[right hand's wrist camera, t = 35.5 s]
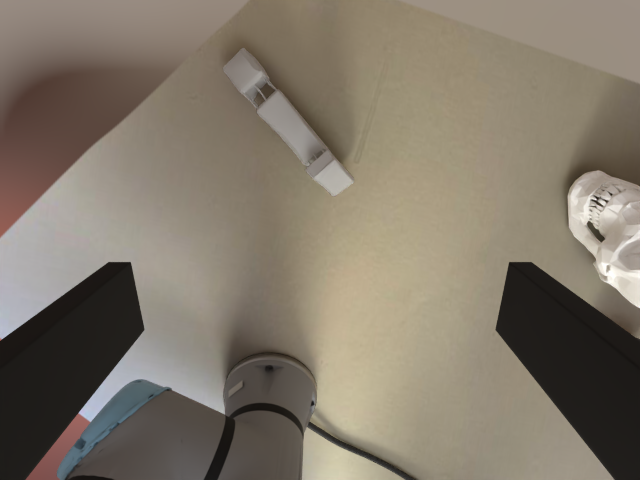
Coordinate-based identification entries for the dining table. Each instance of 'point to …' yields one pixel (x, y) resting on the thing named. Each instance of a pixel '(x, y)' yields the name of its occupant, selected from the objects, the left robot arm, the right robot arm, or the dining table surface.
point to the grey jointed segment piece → (288, 123)
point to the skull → (609, 228)
